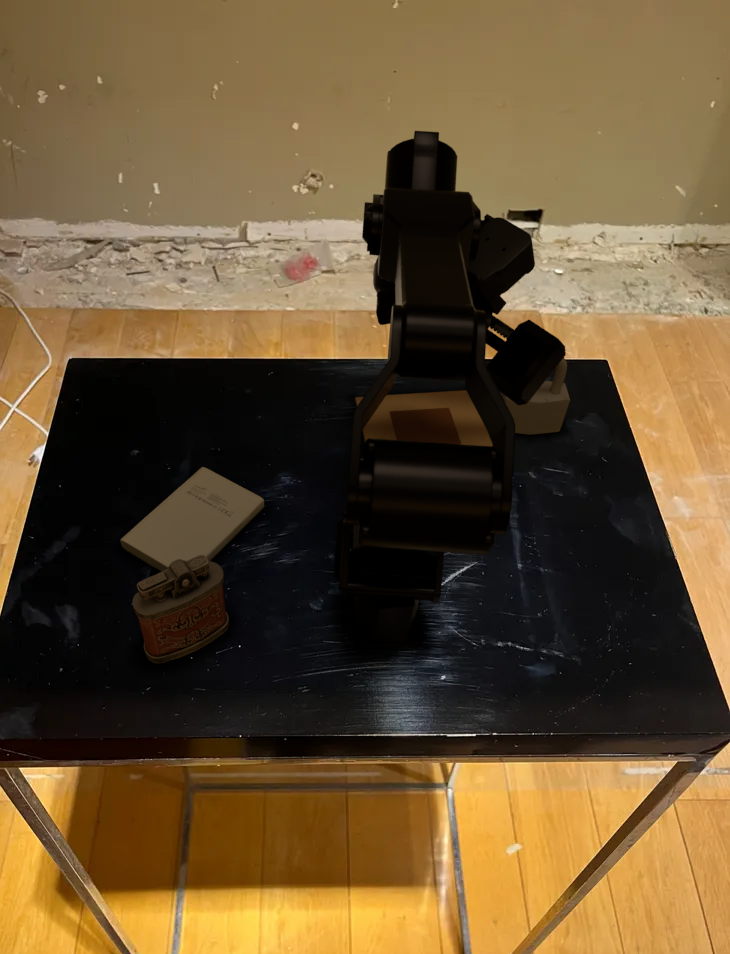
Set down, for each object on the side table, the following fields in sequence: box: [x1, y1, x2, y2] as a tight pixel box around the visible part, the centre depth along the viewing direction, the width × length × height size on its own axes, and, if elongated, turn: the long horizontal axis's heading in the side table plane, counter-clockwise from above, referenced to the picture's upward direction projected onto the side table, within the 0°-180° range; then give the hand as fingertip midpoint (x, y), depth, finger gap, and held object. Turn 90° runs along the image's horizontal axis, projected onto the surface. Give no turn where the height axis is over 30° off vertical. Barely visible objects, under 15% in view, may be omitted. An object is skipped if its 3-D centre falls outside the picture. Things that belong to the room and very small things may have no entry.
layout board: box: [354, 389, 493, 446], centre depth 93 cm, size 12×14×1 cm
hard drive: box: [120, 466, 265, 573], centre depth 82 cm, size 2×8×12 cm
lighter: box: [132, 555, 230, 664], centre depth 71 cm, size 8×3×10 cm, turn 123°
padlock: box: [500, 357, 571, 436], centre depth 91 cm, size 7×4×10 cm, turn 91°
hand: (500, 353), depth 81 cm, fingers open, 9 cm apart
